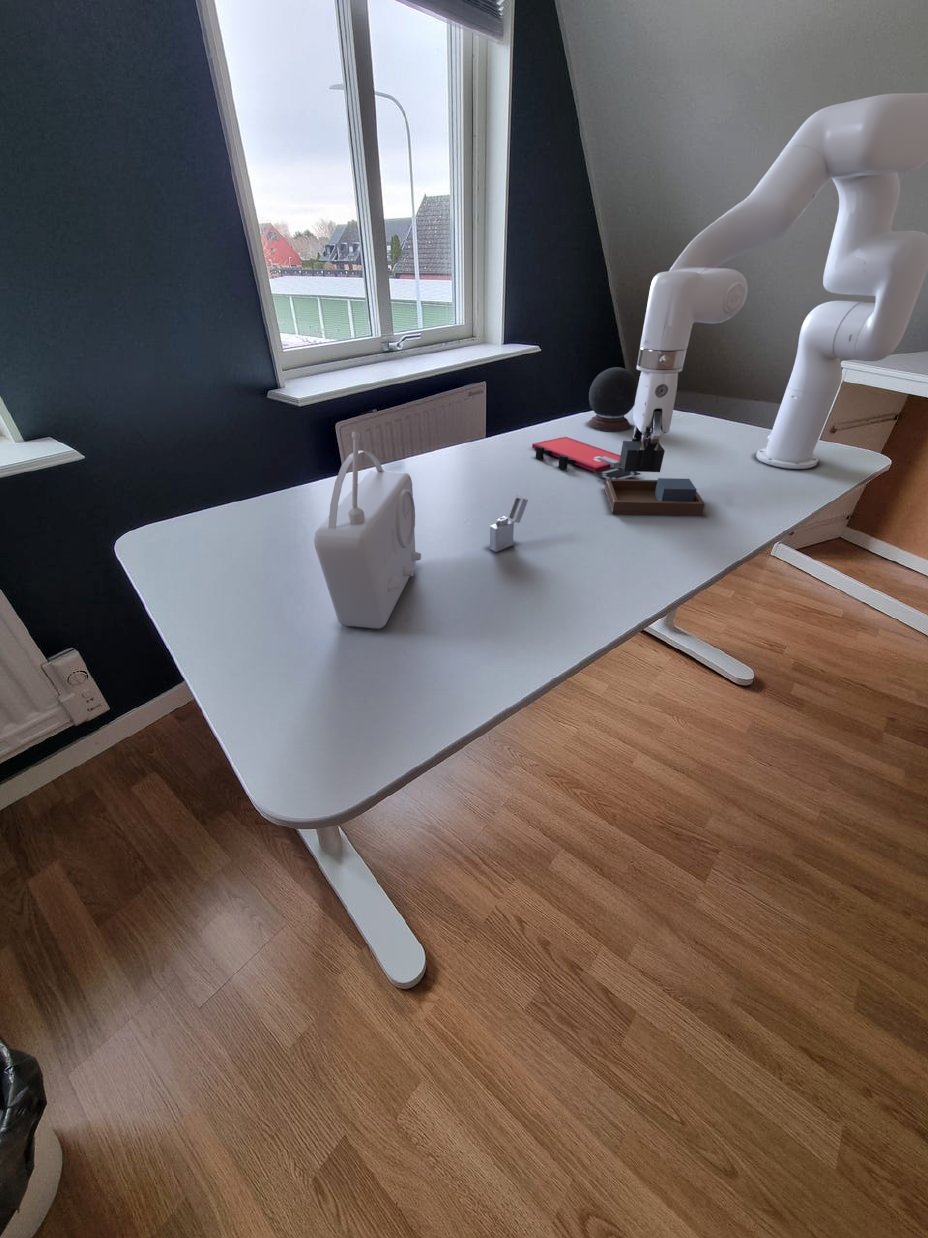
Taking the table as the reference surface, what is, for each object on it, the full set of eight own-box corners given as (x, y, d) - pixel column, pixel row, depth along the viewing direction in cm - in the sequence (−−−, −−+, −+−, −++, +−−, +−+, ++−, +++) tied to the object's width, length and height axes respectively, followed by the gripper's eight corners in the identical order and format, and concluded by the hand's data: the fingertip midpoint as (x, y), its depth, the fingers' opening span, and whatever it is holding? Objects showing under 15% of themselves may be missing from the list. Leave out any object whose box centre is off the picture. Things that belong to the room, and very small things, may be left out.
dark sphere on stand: (641, 429, 138) (652, 370, 129) (599, 434, 136) (607, 374, 127) (617, 417, 149) (626, 361, 140) (577, 421, 146) (583, 365, 137)
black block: (619, 461, 97) (623, 440, 95) (653, 462, 97) (658, 441, 94) (623, 471, 93) (627, 450, 91) (660, 472, 92) (664, 450, 90)
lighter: (495, 552, 84) (496, 508, 79) (489, 548, 85) (489, 504, 80) (525, 539, 88) (528, 496, 83) (519, 535, 89) (521, 493, 84)
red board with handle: (606, 487, 105) (655, 473, 111) (608, 474, 103) (657, 461, 109) (520, 451, 125) (565, 442, 132) (520, 440, 124) (566, 431, 130)
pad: (654, 494, 101) (658, 478, 99) (684, 495, 100) (689, 478, 98) (660, 506, 96) (664, 488, 94) (692, 506, 96) (696, 489, 94)
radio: (390, 642, 65) (363, 452, 50) (331, 636, 66) (287, 449, 52) (428, 560, 82) (417, 400, 67) (380, 556, 84) (359, 398, 69)
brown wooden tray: (604, 490, 104) (606, 478, 103) (685, 491, 103) (688, 480, 101) (612, 513, 95) (614, 501, 94) (701, 515, 94) (705, 503, 92)
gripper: (697, 369, 77) (670, 482, 88) (671, 351, 90) (650, 451, 101) (648, 369, 77) (627, 481, 88) (629, 351, 91) (613, 450, 102)
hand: (640, 464), depth 95 cm, fingers closed on black block, 5 cm apart
